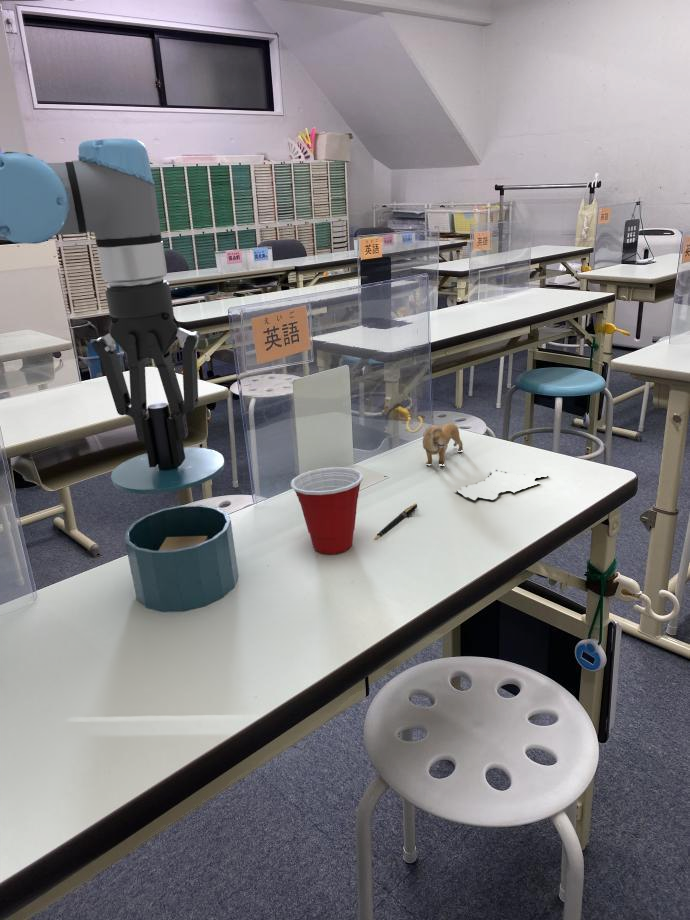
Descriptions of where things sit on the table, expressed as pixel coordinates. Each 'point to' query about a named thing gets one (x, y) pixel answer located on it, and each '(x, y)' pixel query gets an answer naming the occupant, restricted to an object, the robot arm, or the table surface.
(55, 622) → the table surface
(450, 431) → the lion figurine
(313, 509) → the plastic cup
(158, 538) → the tin
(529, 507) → the table surface
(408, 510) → the fountain pen
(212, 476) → the lid
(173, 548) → the block
